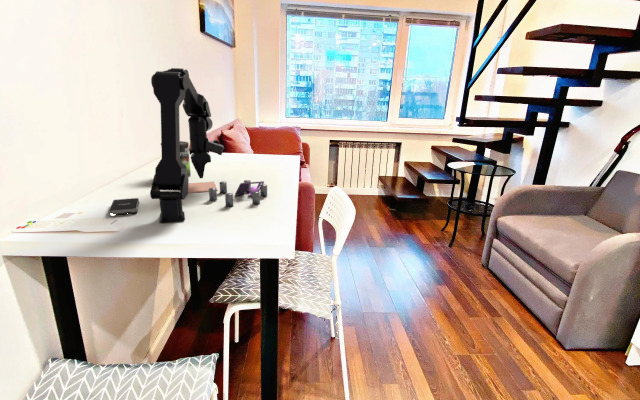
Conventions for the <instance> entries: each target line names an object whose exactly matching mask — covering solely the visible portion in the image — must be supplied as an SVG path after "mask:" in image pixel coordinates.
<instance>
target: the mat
mask: <svg viewBox="0 0 640 400" xmlns="http://www.w3.org/2000/svg"><path fill="white" fill-rule="evenodd" d="M209 188H216V190H217V192H218V188H217V186H216V183H215V181H209V182H208V181H203V182H188V194H196V193H197V194H198V193H209Z"/></svg>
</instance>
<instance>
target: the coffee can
mask: <svg viewBox="0 0 640 400" xmlns="http://www.w3.org/2000/svg"><path fill="white" fill-rule="evenodd" d="M189 145H190V142H188V141H182V140H181V141H180V160H181V161H182V163H183V164H184V165H186V167H187V175H188V179H189V178H190V177H191V176H192V174H191V164H190V161H191V158H190V153H189V148H190V146H189Z"/></svg>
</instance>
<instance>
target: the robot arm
mask: <svg viewBox="0 0 640 400" xmlns="http://www.w3.org/2000/svg"><path fill="white" fill-rule="evenodd" d="M150 81H151V82H150V83H151V86H152V91H153V95H154V96H155V98H156V99H157V101H158V102H159V104H160V136H161V137H160V141H161V143H160V148H161V159H160V160H159V162H158V164H157V165H156V166H155V169H154V170H155V171H154V173H155V174H154V176H153V180H152V182H151V187H150V192H149V195H150V198H151V199H152V200H159V207H160V208H159V209H160V213H159V223H168V222H180V221H185V220H186V217H185V216H186V214H185V211H184V210H183V209H184V208H183V200H185V199H186V198H187V196H189V193H188V183H190V182H189V178H188V175H187V167H186V165H184V164H183V163H182V161H181V160H180V139H181V136H180V135H181V134H180V106H181V104H182V108H183V110H184V112H185V115H187V117H188V120H187V122H188V129H189V131H188V133H189V145H190V146H189V156H190V161H191V163H192V165H193V167H194V169H195V171H196V173H197V176H198V178H199V179H203V178H204V173H205V167H206V165H207V164H208V163H211V162H212V156H211V155H210V152H211V153H214V154H217V155H220V156H222V154H223V151H224V149H225V147H224V145H223V144H220V141H219V140H217V139H214V140H209V138H208V137H207V136H208V135H207V132H208V131H210V130H211V129H212V128H213V120H212V119H211V117H212V113H211V108H210V105H209V102H208V100H207V99H206V98H205V97H204V96H205V95H202V94H200V93H198V91H197V90H196V87H195V86H194V83H193V82H192V80H191V78H190V74H189V71H188V69H185V68H177V67H171V68H169V69H167V70H162V71H158V70H157V71H155V72H154V74H152V76H151V79H150Z"/></svg>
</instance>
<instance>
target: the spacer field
mask: <svg viewBox="0 0 640 400" xmlns="http://www.w3.org/2000/svg"><path fill="white" fill-rule="evenodd" d="M249 182H252V181H251V180H249V179H245V180H243V183H249ZM227 185H228V183H227V181H220V182H219V193H220V194H221V195H224V197H225V198H224V199H225V201H224V202H225V207H226V208H233V207H234V193H233V192H228V186H227ZM251 187H252V184H249V186H248V188H247V189H246V191H245V193H246V192H247V191H250V188H251ZM216 188H217V187H216ZM216 188H209V192H208V198H209V202H217V201H218V195H217V194H218V193H217V192H218V191H217V190H218V189H217V190H216ZM259 188H260V190H259V191H253V192H252V196H251V197H252V198H251V199H252V202H251V203H252V205H253V206H257V205H260V204H261V202H260V201H261V198H267V197H268V185H267V184H263V185H260V187H259ZM260 196H261V197H260ZM266 196H267V197H266Z"/></svg>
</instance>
